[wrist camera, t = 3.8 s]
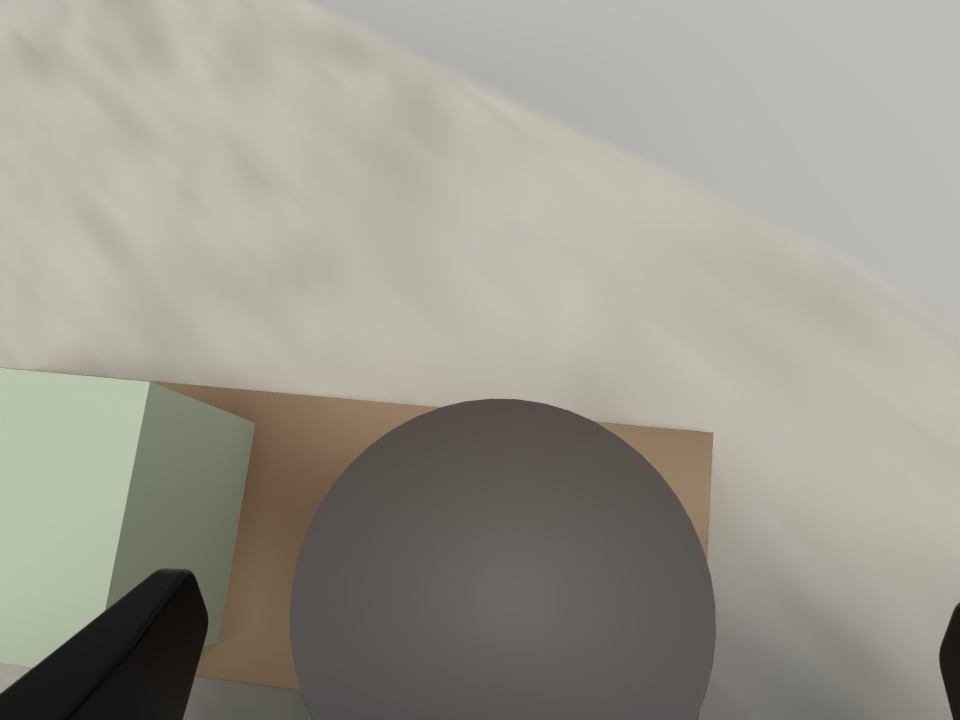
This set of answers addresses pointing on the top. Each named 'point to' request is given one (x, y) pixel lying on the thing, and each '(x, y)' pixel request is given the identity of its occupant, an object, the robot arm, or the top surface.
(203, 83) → the top surface
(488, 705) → the grey post on base
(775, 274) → the top surface
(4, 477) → the sage cube
